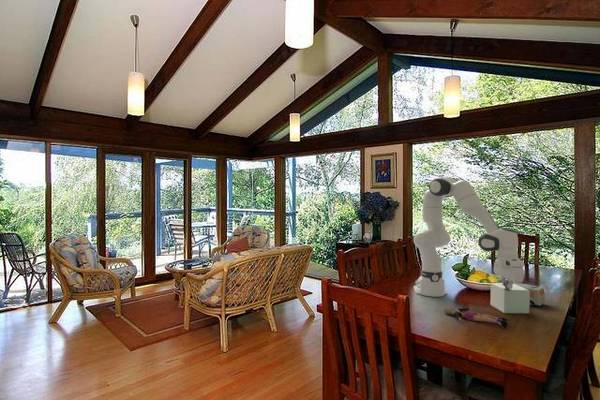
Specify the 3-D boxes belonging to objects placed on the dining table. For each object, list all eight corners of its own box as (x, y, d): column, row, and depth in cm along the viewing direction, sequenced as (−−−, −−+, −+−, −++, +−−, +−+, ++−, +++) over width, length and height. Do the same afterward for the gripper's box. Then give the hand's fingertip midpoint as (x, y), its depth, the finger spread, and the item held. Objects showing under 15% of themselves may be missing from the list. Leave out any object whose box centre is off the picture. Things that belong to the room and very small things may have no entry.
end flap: (503, 312, 179) (503, 279, 178) (527, 312, 179) (528, 280, 178) (506, 313, 176) (506, 281, 176) (530, 313, 176) (531, 281, 176)
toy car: (498, 294, 211) (498, 278, 211) (546, 304, 192) (546, 286, 192) (490, 297, 204) (491, 281, 204) (540, 308, 185) (540, 290, 185)
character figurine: (509, 323, 168) (449, 308, 186) (510, 314, 168) (450, 300, 186) (501, 336, 153) (436, 319, 170) (502, 326, 152) (437, 310, 170)
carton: (490, 304, 192) (490, 283, 191) (512, 304, 191) (512, 283, 191) (504, 313, 178) (504, 289, 178) (528, 313, 178) (528, 290, 178)
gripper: (490, 256, 187) (490, 281, 188) (513, 264, 167) (512, 292, 167) (502, 256, 187) (501, 281, 188) (526, 264, 167) (526, 292, 167)
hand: (507, 287), depth 177 cm, fingers open, 3 cm apart
